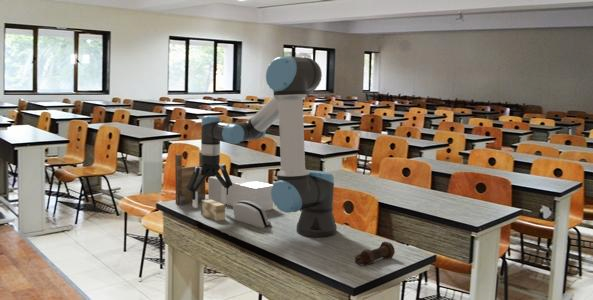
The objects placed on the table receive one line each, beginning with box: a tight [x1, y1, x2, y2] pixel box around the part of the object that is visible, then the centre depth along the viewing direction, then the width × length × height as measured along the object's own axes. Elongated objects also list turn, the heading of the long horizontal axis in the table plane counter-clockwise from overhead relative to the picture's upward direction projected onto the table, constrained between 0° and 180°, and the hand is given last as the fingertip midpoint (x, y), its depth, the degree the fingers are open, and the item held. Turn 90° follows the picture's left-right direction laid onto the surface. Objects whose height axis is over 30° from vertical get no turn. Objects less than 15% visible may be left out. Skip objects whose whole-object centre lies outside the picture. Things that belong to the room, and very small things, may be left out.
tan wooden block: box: [200, 198, 226, 222], centre depth 222 cm, size 12×4×6 cm, turn 40°
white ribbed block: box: [207, 174, 274, 212], centre depth 244 cm, size 32×11×11 cm, turn 47°
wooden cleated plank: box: [174, 151, 206, 206], centre depth 244 cm, size 4×14×22 cm, turn 130°
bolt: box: [354, 241, 396, 266], centre depth 174 cm, size 6×5×15 cm
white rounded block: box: [232, 201, 272, 229], centre depth 214 cm, size 17×5×10 cm, turn 46°
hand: (209, 205), depth 223 cm, fingers open, 13 cm apart
